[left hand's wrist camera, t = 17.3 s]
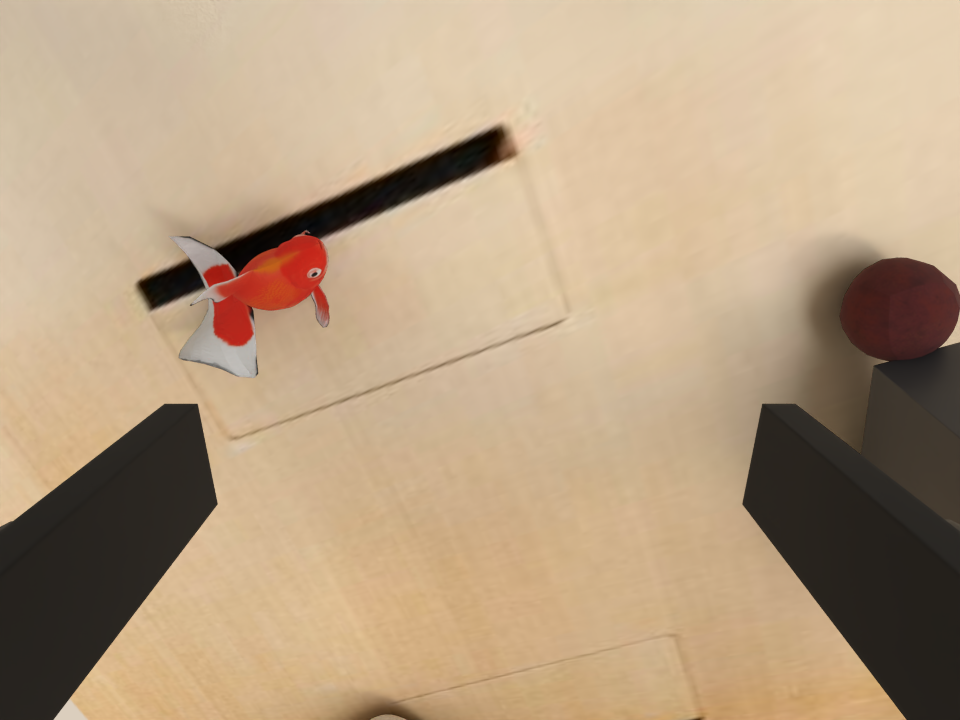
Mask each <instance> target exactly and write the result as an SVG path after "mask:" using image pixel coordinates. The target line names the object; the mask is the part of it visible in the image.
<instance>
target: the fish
mask: <svg viewBox="0 0 960 720" xmlns="http://www.w3.org/2000/svg"><path fill="white" fill-rule="evenodd" d="M305 232H308V231H304V232H303V233H302V234H300V235H296V236H295V237H293V238H292V239H291V240H289V241H287V242H284V243H282V244H281V245H280V246H279V247H278V248H274V249H271V250H268V251H266V252H263V253H261V254H259V255H258V256H256V257H255V258H253V259H252V260H251V261H250V262H249V263H248V264H247V265H246V266H245V267H244V268H243V270H242V271H241V272H240V274H239V275H238V273H237V272H236V271H235V270H234V268H233V267H232V266H231V265H230V263H229V262H228V261H227V260H226V259H225V258H224V257H223V256H222V255H220V254H219V253H218V252H217V251H215V250H214V249H213V248H212V247H210V246H208V245H206V244H204V243H202V242H200V241H198V240H196V239H194V238H191V237H180V236H168V237H170V238H171V239H172V240H173V241H174V242H175V243H176V244H177V245H178V246H179V247H180V248H181V249H182V250H183V251H184V252H185V253H186V254H187V256H188V257H189V259H190V260H191V262H192V263H193V265H194V266H195V267H196V269H197V270H198V272H199V274H200V277H201V279H202V281H203V283H204V285H205V287H206V291H204V292H203V293H202V294H201V295H200V296H199V297H198V298H197V299H196V300H195V301H194V302H193V303H192V304H191V305H190V306H192V305H194V304H196V303H198V302H200V301H202V300H204V299H208V303H209V306H208V311H207V313H206V315H205V317H204V319H203V321H202V323H201V325H200V326H199V327H198V329H197V330H196V331H195V332H194V333H193V335H192V336H191V337H190V338H189V339H188V341H187V342H186V344H185V345H184V346H183V348H182V349H181V351H180V353H179V358H180V359H182V360H186V361H193V362H198V363H203V364H207V365H210V366H213V367H216V368H220V369H222V370H225V371H227V372H229V373H231V374H233V375H235V376H238V377H251V378H255V377H256V375H257V374H258V368H257V359H256V337H255V325H254V314H253V309H252V307H254V308H257V309H263V310H279V309H285V308H289V307H292V306H295V305H296V304H298V303H299V302H301V301H302V300H304V299H306V298H307V297H308V296H309V295H310V294H311V296H312V299H313V301H314V303H315V306H316V318H317V320H318V322H319V323H320V325H321V326H322V327H327V325H328V324H329V305H328V302H327V299H326V296H325V294H324V293H323V291H322V289H321V288H320V286H319V284H320V282H321V281H322V279H323V278H324V275H325V273H326V270H327V266H328V253H327V249H326V247H325V246H324V244H323V242H322V241H320V240H319V239H318V238H316V237H312V236H307V235H304V234H305ZM308 233H310V232H308ZM310 234H311V233H310Z"/></svg>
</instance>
